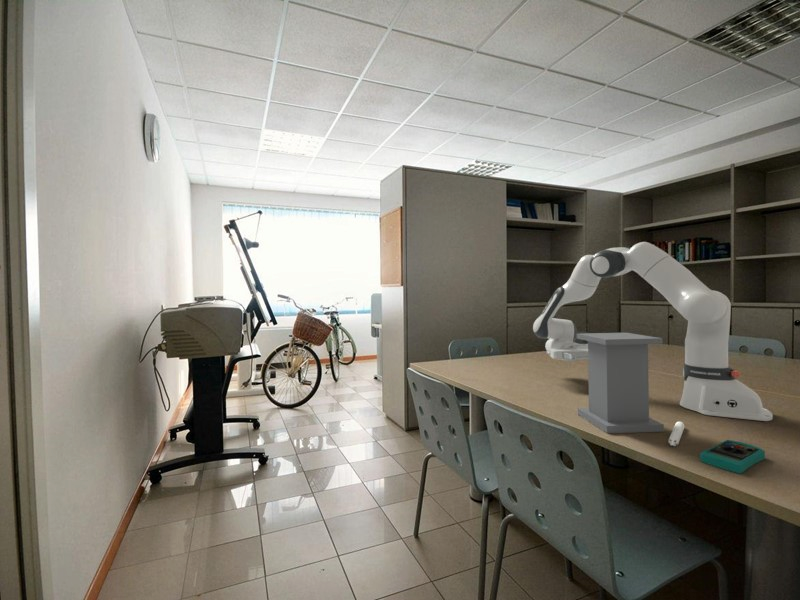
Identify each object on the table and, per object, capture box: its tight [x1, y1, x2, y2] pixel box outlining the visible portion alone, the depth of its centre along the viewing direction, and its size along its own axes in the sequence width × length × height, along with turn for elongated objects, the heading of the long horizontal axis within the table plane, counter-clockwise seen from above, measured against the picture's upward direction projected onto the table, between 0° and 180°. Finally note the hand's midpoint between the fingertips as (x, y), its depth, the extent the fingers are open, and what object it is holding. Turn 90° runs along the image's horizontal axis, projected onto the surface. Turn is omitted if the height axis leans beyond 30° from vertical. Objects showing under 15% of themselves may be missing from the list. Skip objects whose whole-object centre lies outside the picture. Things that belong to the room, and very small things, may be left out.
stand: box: [576, 332, 665, 434], centre depth 110 cm, size 16×16×26 cm
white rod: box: [667, 421, 685, 447], centre depth 99 cm, size 18×2×2 cm, turn 138°
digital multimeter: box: [699, 439, 766, 474], centre depth 85 cm, size 7×15×3 cm, turn 120°
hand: (584, 356), depth 147 cm, fingers open, 8 cm apart
